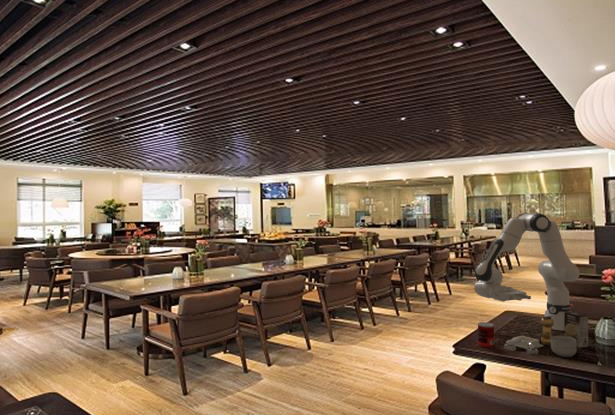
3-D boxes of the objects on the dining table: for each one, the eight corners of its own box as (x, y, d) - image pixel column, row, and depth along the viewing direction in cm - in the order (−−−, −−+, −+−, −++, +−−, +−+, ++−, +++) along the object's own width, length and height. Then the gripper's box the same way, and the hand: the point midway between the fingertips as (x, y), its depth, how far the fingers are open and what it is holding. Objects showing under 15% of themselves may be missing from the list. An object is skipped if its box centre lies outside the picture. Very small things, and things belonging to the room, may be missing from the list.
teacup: (566, 360, 196) (566, 342, 196) (545, 353, 206) (544, 336, 206) (586, 356, 202) (586, 339, 202) (564, 349, 211) (564, 333, 212)
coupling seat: (521, 340, 226) (521, 331, 226) (543, 346, 216) (543, 337, 216) (497, 346, 216) (497, 337, 216) (519, 353, 206) (519, 344, 206)
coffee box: (563, 342, 222) (563, 311, 222) (573, 341, 224) (572, 310, 224) (579, 347, 213) (579, 315, 214) (589, 346, 215) (588, 314, 215)
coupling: (545, 341, 223) (544, 314, 223) (555, 344, 219) (555, 317, 219) (538, 343, 220) (538, 316, 221) (549, 346, 216) (549, 318, 216)
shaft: (523, 348, 213) (523, 339, 213) (533, 348, 212) (533, 339, 212) (528, 353, 205) (528, 344, 205) (538, 354, 204) (538, 345, 204)
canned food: (493, 344, 220) (493, 322, 220) (494, 348, 213) (494, 326, 213) (477, 342, 223) (477, 321, 223) (478, 347, 215) (478, 325, 215)
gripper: (491, 288, 235) (515, 293, 224) (511, 286, 247) (535, 291, 235) (490, 299, 235) (514, 305, 224) (511, 297, 247) (535, 303, 235)
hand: (525, 298), depth 230 cm, fingers open, 8 cm apart
